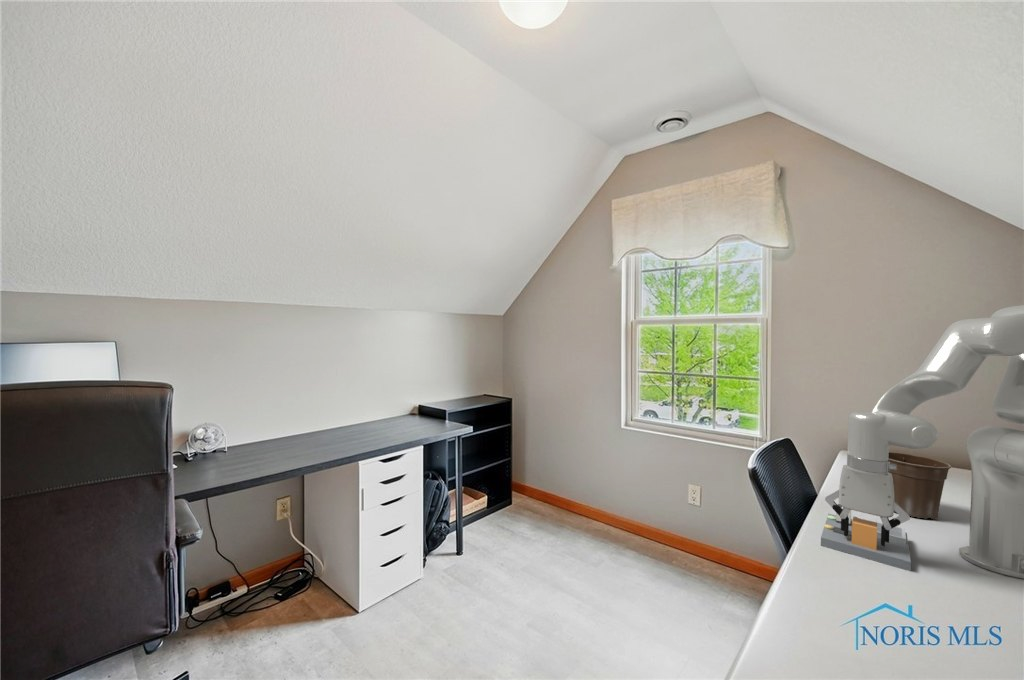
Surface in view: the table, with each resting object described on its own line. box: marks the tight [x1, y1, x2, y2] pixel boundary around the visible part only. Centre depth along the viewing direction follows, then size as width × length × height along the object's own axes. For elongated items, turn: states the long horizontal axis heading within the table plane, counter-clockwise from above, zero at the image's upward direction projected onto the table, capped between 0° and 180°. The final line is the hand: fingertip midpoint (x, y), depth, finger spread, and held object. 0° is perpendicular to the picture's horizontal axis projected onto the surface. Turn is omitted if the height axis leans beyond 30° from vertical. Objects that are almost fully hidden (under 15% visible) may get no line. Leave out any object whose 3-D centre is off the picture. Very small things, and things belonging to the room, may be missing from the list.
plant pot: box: [888, 451, 952, 520], centre depth 126 cm, size 16×16×16 cm
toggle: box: [835, 503, 852, 524], centre depth 112 cm, size 3×3×4 cm
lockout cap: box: [851, 516, 878, 550], centre depth 100 cm, size 4×4×5 cm
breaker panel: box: [820, 513, 912, 572], centre depth 105 cm, size 20×16×3 cm
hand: (864, 538), depth 100 cm, fingers open, 6 cm apart
